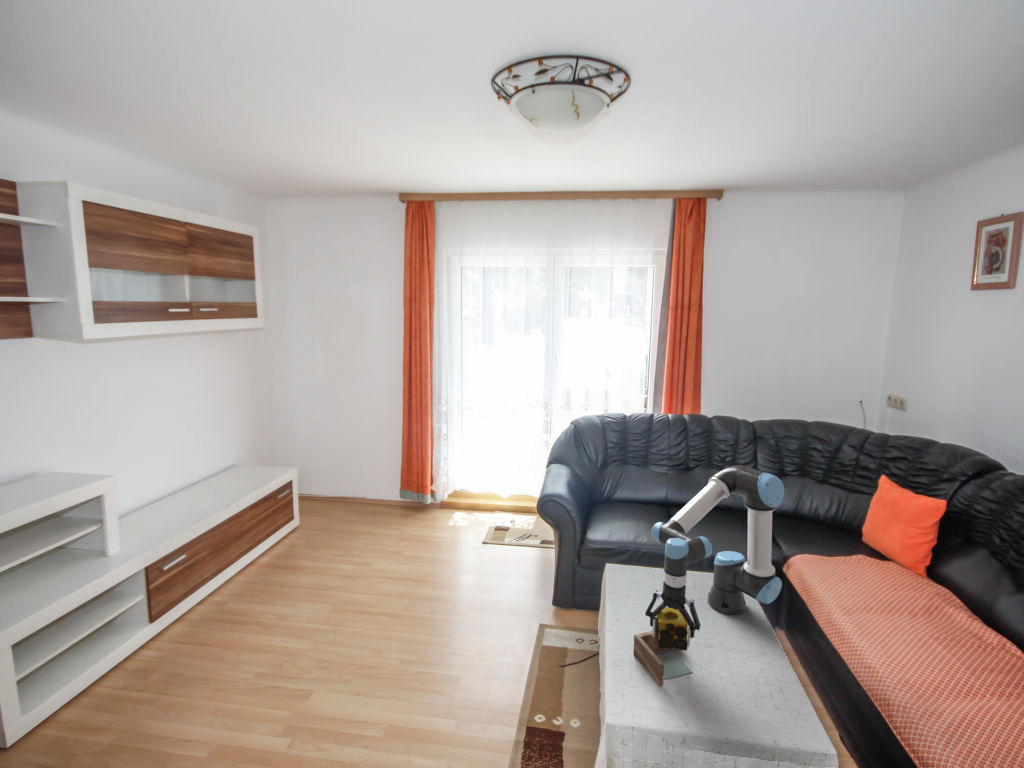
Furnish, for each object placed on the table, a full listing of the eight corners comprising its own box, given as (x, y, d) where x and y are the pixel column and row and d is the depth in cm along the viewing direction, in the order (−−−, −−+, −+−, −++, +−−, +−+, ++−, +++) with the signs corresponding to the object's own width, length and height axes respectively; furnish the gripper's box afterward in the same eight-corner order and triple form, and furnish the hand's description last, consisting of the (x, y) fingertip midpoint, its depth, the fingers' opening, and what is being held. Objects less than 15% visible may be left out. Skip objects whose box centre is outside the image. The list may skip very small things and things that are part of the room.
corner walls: (677, 644, 194) (678, 625, 193) (705, 673, 178) (707, 653, 177) (633, 654, 188) (634, 635, 187) (659, 686, 173) (660, 665, 171)
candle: (684, 634, 185) (685, 608, 184) (688, 651, 175) (689, 624, 174) (655, 630, 187) (656, 605, 186) (657, 647, 177) (658, 621, 176)
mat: (673, 652, 189) (673, 651, 189) (692, 672, 179) (692, 671, 179) (648, 658, 186) (648, 657, 186) (665, 679, 176) (665, 678, 176)
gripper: (638, 579, 180) (635, 635, 183) (709, 597, 169) (705, 656, 172) (643, 569, 186) (640, 624, 190) (711, 586, 175) (707, 643, 179)
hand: (671, 639), depth 181 cm, fingers closed on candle, 11 cm apart
